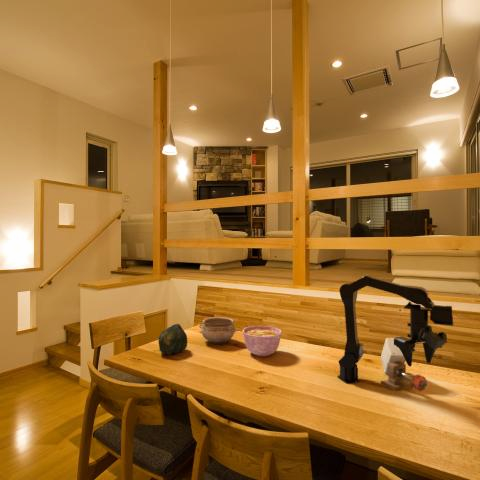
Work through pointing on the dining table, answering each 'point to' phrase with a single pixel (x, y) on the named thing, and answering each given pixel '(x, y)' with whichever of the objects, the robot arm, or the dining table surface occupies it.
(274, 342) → the bowl of food
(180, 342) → the squash
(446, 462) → the dining table surface
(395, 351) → the skincare box
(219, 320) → the cooking pot
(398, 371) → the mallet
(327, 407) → the dining table surface
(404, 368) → the wall mount bracket
